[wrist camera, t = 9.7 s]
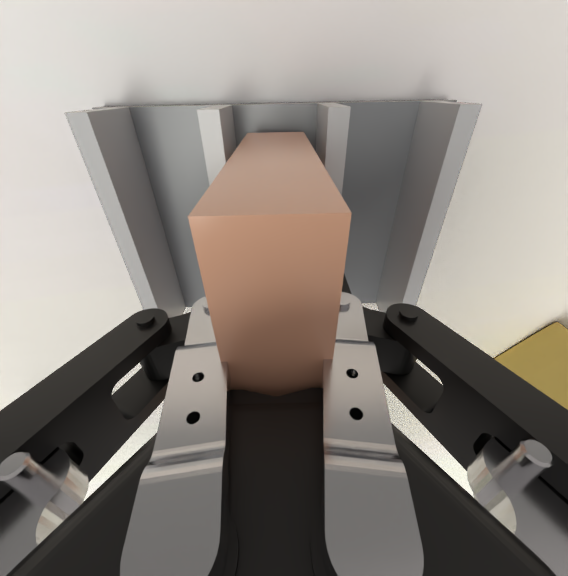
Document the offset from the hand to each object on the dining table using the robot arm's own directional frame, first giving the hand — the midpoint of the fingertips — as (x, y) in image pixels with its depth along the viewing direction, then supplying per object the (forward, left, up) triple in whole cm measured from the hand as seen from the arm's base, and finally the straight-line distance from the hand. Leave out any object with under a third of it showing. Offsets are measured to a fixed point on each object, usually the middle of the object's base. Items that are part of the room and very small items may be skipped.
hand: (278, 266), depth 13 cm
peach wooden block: (0, 0, -3) cm, 3 cm away
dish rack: (0, 0, -6) cm, 6 cm away
